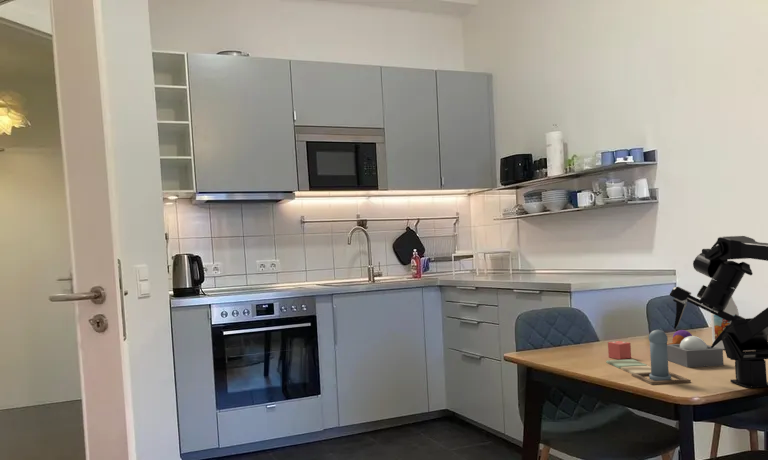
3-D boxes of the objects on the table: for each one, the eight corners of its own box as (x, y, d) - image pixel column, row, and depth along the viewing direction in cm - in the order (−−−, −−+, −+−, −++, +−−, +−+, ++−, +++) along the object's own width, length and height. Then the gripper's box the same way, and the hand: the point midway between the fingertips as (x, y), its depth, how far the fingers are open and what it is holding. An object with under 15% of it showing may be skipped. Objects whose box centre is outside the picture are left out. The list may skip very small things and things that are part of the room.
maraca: (650, 342, 176) (674, 329, 190) (655, 361, 176) (679, 347, 189) (669, 340, 172) (693, 327, 186) (675, 360, 171) (698, 345, 185)
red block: (631, 357, 173) (630, 342, 173) (620, 359, 171) (619, 343, 171) (619, 355, 177) (618, 340, 177) (608, 357, 175) (607, 341, 175)
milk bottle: (707, 347, 184) (703, 285, 185) (724, 345, 187) (721, 283, 188) (729, 351, 177) (725, 286, 178) (746, 348, 180) (743, 285, 180)
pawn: (675, 380, 143) (672, 330, 144) (656, 381, 143) (653, 331, 143) (664, 376, 148) (661, 328, 149) (645, 377, 148) (643, 328, 148)
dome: (714, 362, 159) (712, 337, 160) (689, 363, 159) (688, 338, 159) (698, 357, 167) (697, 333, 167) (674, 358, 166) (673, 334, 166)
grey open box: (723, 365, 158) (722, 349, 158) (687, 367, 157) (686, 350, 157) (700, 358, 168) (699, 342, 168) (666, 360, 168) (665, 344, 168)
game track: (690, 382, 141) (690, 379, 141) (651, 384, 140) (651, 382, 140) (636, 361, 168) (636, 358, 168) (603, 362, 167) (602, 360, 167)
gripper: (763, 301, 145) (732, 354, 148) (688, 267, 155) (661, 318, 158) (764, 302, 136) (730, 359, 139) (684, 266, 146) (655, 319, 148)
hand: (692, 337), depth 146 cm, fingers open, 9 cm apart
